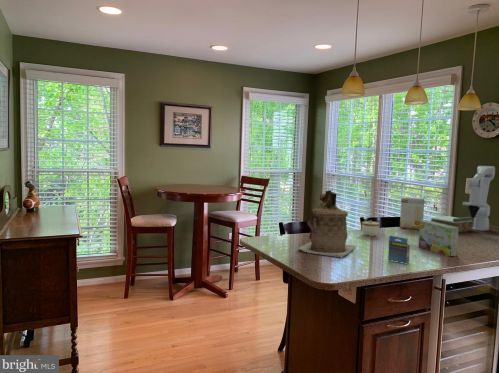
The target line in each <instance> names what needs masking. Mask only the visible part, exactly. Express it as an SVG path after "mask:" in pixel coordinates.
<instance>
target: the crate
mask: <svg viewBox="0 0 499 373" xmlns="http://www.w3.org/2000/svg"><path fill="white" fill-rule="evenodd" d="M430 221H433V222H437V223H441V224H446V225H450V226H454V227H458V228H459V230H458V233H462V232H463V233H464V232H471V231H472V230H473V229H472V228H473V221H471V222H462V223H452V222H446V221H441V220H435V219H430Z"/></svg>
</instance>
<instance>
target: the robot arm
mask: <svg viewBox="0 0 499 373" xmlns="http://www.w3.org/2000/svg"><path fill="white" fill-rule="evenodd" d="M476 172H477V173H476V174H475V175H474V177H471V178H470V179H469V184H468V185H469V201H468V202H467V201H463V202H462V206H468V207H467V208H468V210H469V212H470V217H472V218H473V227H472V230H477V231H480V232H482V231H490V228H489V227H490V220H489V216H490V214H491V207H490V205H489V204H488V202H487V199H488V194H489V189H490V182H491V181H493V180H494V178H495V174H496V167H495V166H493V165H492V166H491V165H490V166H489V165H478V166H477V169H476Z"/></svg>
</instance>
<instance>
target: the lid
mask: <svg viewBox="0 0 499 373" xmlns="http://www.w3.org/2000/svg"><path fill="white" fill-rule="evenodd" d="M431 219H435V220H441V221H446V222H452V223H462V222H473V221H474V218H472V217H471V216H465V217H455V216H451V215H450V216H449V215H447V216H446V215H445V216H434V217H431ZM431 219H430V220H431Z"/></svg>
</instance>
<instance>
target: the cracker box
mask: <svg viewBox="0 0 499 373" xmlns="http://www.w3.org/2000/svg"><path fill="white" fill-rule="evenodd" d="M424 211H425V198H418V197H406V196H405V197H404V196H403V197H401V201H400V219H399V228H401V229H408V230H409V229H411V230H416V231H417V230H418V231H419V227H420V221H421V220H424V214H425V212H424Z"/></svg>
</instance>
